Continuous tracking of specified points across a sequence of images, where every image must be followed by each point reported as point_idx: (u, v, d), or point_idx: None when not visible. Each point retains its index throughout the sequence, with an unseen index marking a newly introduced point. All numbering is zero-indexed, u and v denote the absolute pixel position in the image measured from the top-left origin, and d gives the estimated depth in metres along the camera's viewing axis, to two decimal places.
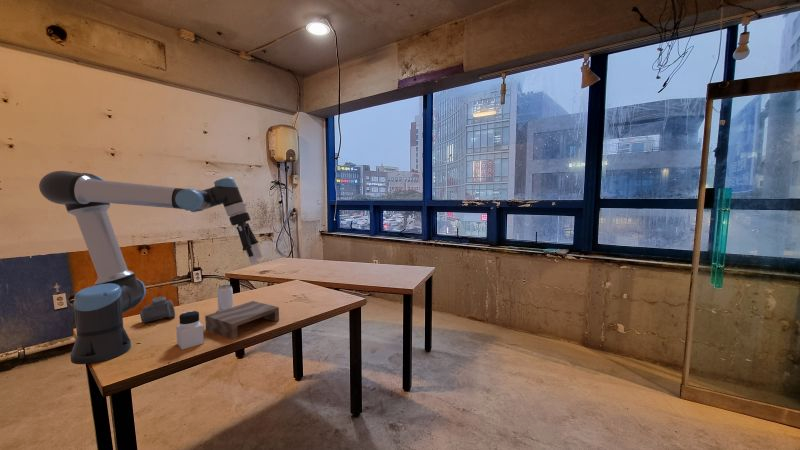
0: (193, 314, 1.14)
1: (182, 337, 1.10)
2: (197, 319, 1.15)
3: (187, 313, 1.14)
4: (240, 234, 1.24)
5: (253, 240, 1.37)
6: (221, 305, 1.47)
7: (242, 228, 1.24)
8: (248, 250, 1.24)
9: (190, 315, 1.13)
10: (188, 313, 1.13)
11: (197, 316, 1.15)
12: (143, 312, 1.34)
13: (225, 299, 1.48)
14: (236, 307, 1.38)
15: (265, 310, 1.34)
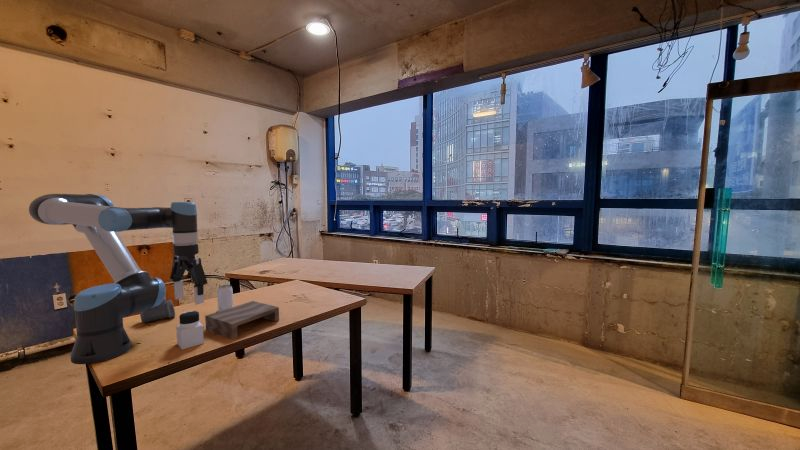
0: (193, 314, 1.14)
1: (182, 337, 1.10)
2: (197, 319, 1.15)
3: (187, 313, 1.14)
4: (196, 268, 1.09)
5: (181, 276, 1.17)
6: (221, 305, 1.47)
7: (199, 261, 1.11)
8: (201, 287, 1.10)
9: (190, 315, 1.13)
10: (188, 313, 1.13)
11: (197, 316, 1.15)
12: (143, 312, 1.34)
13: (225, 299, 1.48)
14: (236, 307, 1.38)
15: (265, 310, 1.34)
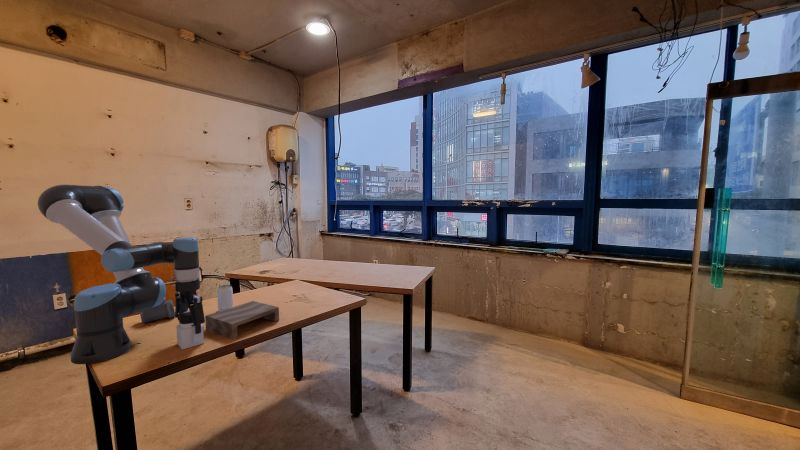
0: None
1: (182, 337, 1.10)
2: None
3: (187, 313, 1.14)
4: (197, 307, 1.11)
5: None
6: (221, 305, 1.47)
7: (200, 300, 1.12)
8: (198, 326, 1.12)
9: (190, 315, 1.13)
10: (188, 313, 1.13)
11: None
12: (143, 312, 1.34)
13: (225, 299, 1.48)
14: (236, 307, 1.38)
15: (265, 310, 1.34)
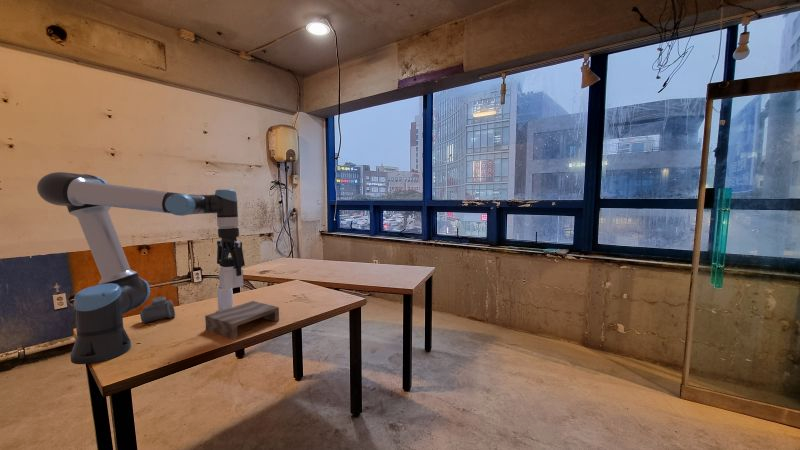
0: None
1: (225, 278, 1.22)
2: None
3: (228, 258, 1.26)
4: (238, 251, 1.22)
5: None
6: (221, 305, 1.47)
7: (240, 245, 1.23)
8: (239, 269, 1.24)
9: (231, 259, 1.24)
10: (229, 258, 1.25)
11: None
12: (143, 312, 1.34)
13: (225, 299, 1.48)
14: (236, 307, 1.38)
15: (265, 310, 1.34)
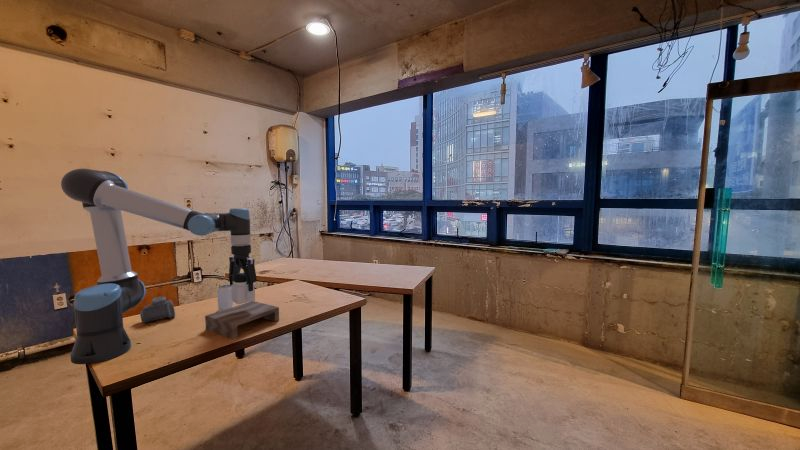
0: None
1: (238, 293, 1.28)
2: None
3: (241, 273, 1.31)
4: (250, 267, 1.28)
5: None
6: (221, 305, 1.47)
7: (253, 262, 1.29)
8: (251, 284, 1.29)
9: (243, 275, 1.30)
10: (241, 274, 1.31)
11: None
12: (143, 312, 1.34)
13: (225, 299, 1.48)
14: (236, 307, 1.38)
15: (265, 310, 1.34)
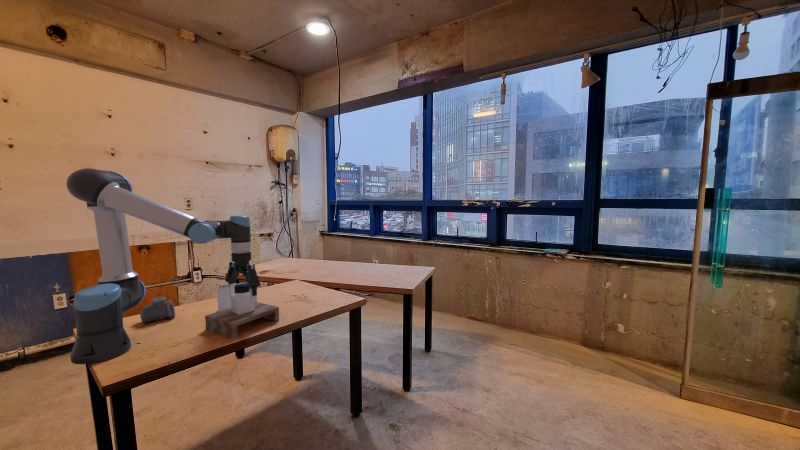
0: (246, 285, 1.31)
1: (238, 304, 1.28)
2: None
3: (241, 284, 1.31)
4: (252, 272, 1.28)
5: (235, 279, 1.35)
6: (221, 305, 1.47)
7: (253, 267, 1.29)
8: (255, 289, 1.28)
9: (244, 286, 1.30)
10: (241, 284, 1.31)
11: (249, 287, 1.32)
12: (143, 312, 1.34)
13: (225, 299, 1.48)
14: None
15: (265, 310, 1.34)
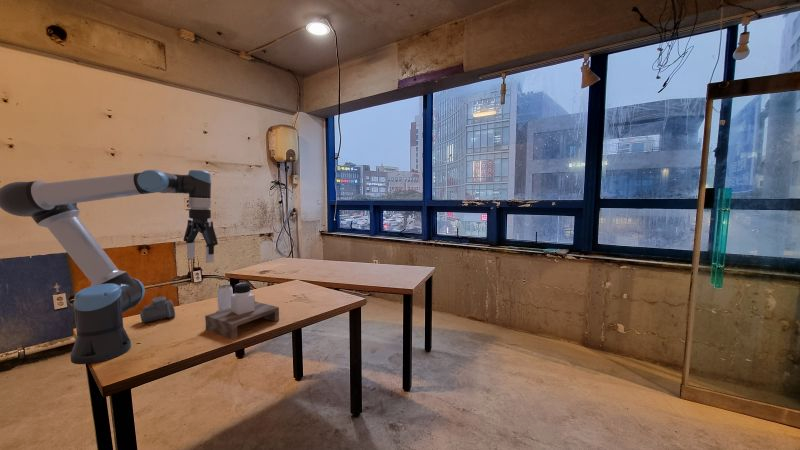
0: (246, 285, 1.31)
1: (238, 304, 1.28)
2: (249, 289, 1.32)
3: (241, 284, 1.31)
4: (209, 229, 1.22)
5: (193, 238, 1.30)
6: (221, 305, 1.47)
7: (211, 224, 1.23)
8: (211, 247, 1.22)
9: (244, 286, 1.30)
10: (241, 284, 1.31)
11: (249, 287, 1.32)
12: (143, 312, 1.34)
13: (225, 299, 1.48)
14: None
15: (265, 310, 1.34)
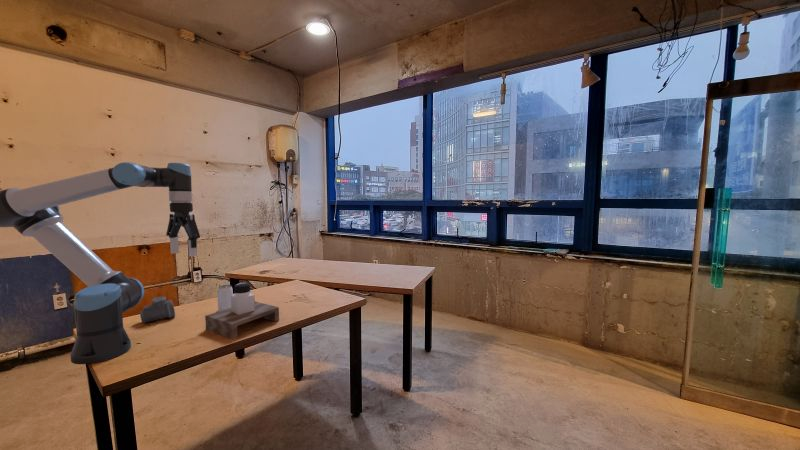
0: (246, 285, 1.31)
1: (238, 304, 1.28)
2: (249, 289, 1.32)
3: (241, 284, 1.31)
4: (190, 223, 1.20)
5: (176, 233, 1.28)
6: (221, 305, 1.47)
7: (193, 217, 1.21)
8: (194, 241, 1.21)
9: (244, 286, 1.30)
10: (241, 284, 1.31)
11: (249, 287, 1.32)
12: (143, 312, 1.34)
13: (225, 299, 1.48)
14: None
15: (265, 310, 1.34)
